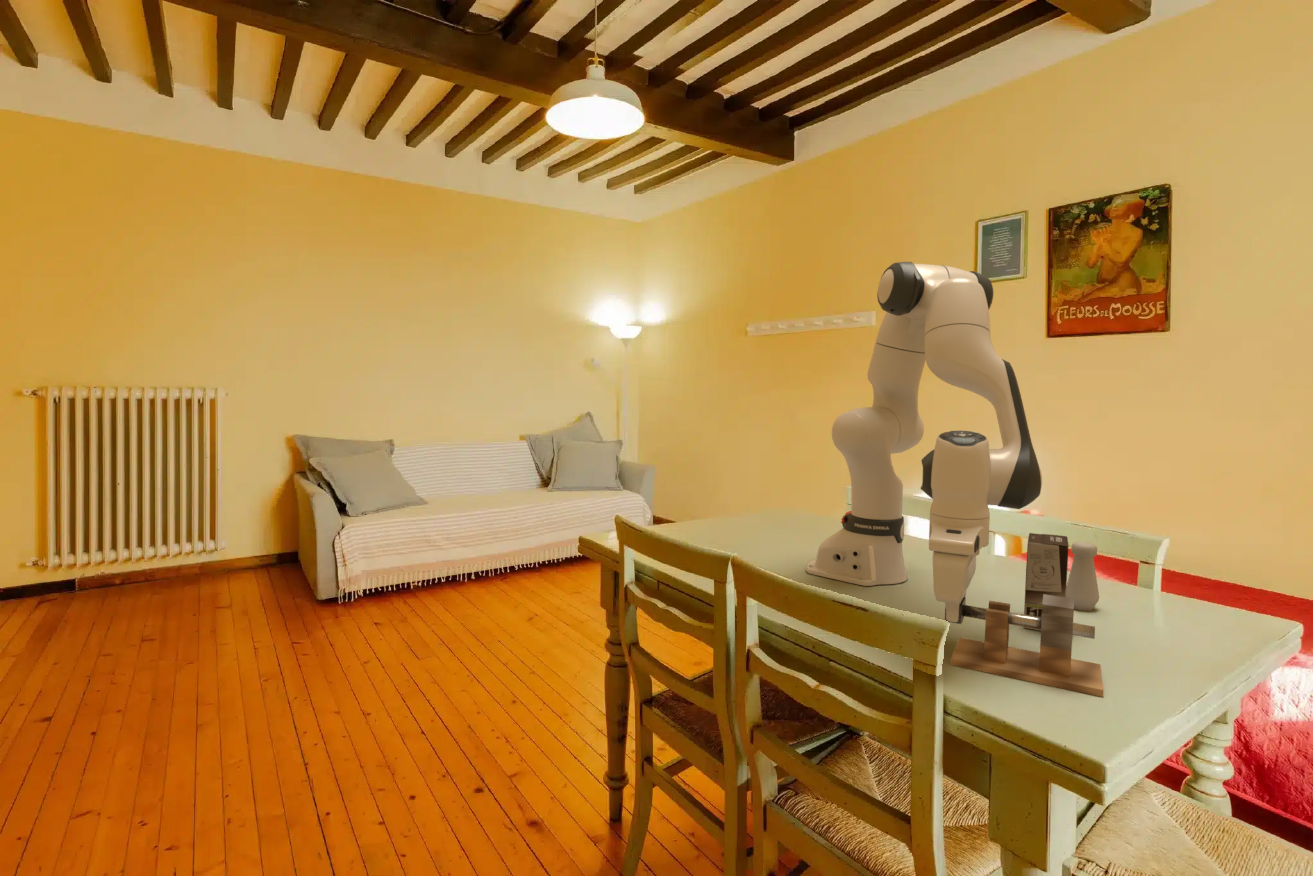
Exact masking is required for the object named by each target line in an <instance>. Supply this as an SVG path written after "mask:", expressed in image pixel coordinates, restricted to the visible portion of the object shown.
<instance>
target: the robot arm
mask: <svg viewBox="0 0 1313 876" xmlns="http://www.w3.org/2000/svg"><path fill="white" fill-rule="evenodd" d="M993 287H994V286H993V284H992V280H991V279H990V278H989V277H987V276H986V275H983V274H981V273H980V272H977V271H974V270H972V271H967V270H965V269H962V268H958V267H954V266H949V265H944V264H940V265H937V264H930V263H929V264H928V263H914V262H912V261H898V262H893V263H891V264H890V265H889V266H888V267H887V268H886V269H885V270H884V271H883V273H882V275H881V278H880V280H879V283H878V287H877V294H876V296H877V302H878V304H879V306H880V308H881V310H883V311H884V312H885V314H884V316H883V319H882V321H881V324H880V326H879V329H878V332H877V336H876V339H875V342H874V347H873V351H872V355H871V359H870V362H869V366H868V370H867V379H868V381H869V383H870V384H871V386H872V393H873V400H872V405H871V406H869V407H856V408H853V409H851V410H848V411H845V412H842V413H841V414H839V415H838V416H837V417H836V419H835V420H834V421H833V423H832V427H831V439H832V441H833V444H834V447H836V449H837V451H839V452H840V453H841V454H842V456H843V457H844V459H845V462H846V466H847V469H848V472H849V477H850V482H851V483H850V484H851V494H850V495H851V499H850V500H851V504H850V505H851V507H850V509H851V510H848V511H846V512H845V514H844V515H843V516H842V518H841V521H840V522H841V525H842V527H843V528H841V529H839V530H838V531H836V532H835V533H833V534H831V536H829V537H828V538H826V539H825V540H823V541H822V542H821V543H820V544H819V547H818V549H817V553H816V558H814V559H812V560H811V561H809V562H808V563H807V564H806V569H805V570H806V572H807V574H809V575H814V576H819V577H823V578H828V579H832V580H837V581H842V582H846V583H849V584H853V585H854V584H855V585H860V586H863V587H871V586H876V585H892V584H893V585H894V584H900V583H903V582H905V581H907V580H908V578H909V577H908V573H907V570H906V566H905V559H904V551H903V542H904V538H905V518H904V516H903V491H904V489H903V488H904V484H903V481H902V480H901V478H900V477H899V476H898V475H897V474H896V472H895V469H894V467H893V466H894V465H893V462H892V454H900V453H904V452H905V451H908V450H910V449H912V448H914V447H915V446H917V445H918V444H919V443H920V442H921V440H922V438H924V432H925V427H924V422H923V419H922V417H921V416H920V414H919V389H920V382H921V379H922V375H923V371H924V367H925V363H926V365H927V368H928V369H929V370H930V371H931V373H933V375H934V376H936V377H937V378H938V379H940V380H941V381H942V382H945V383H947V384H948V385H951V386H954V387H956V388H959V389H963V390H965V391H969V392H972V393H974V394H976V395H979V396H981V397H983V398H984V399H986V400H987V401H988V402H989V403H990V404H991V405H992V406H993V408H994V410H995V414H996V418H997V424H998V427H999V432H1000V433H999V434H1000V437H1001V441H1002V447H1001V448H990V444H989V440H988V437H986V436H985V435H983V434H981V433H980V432H974V431H969V430H950V431H946V432H945V431H944V432H942V433H940V434H939V435H938V436H937V437H936V440H935V446H934V448H933V449H932V450H931V451H929V452H928V453H927V454H926V455H925V456H924V457H922V459H921V464H922V475H921V477H922V480H921V486H920V490H921V491H923V492H924V494H926V495H927V496H928V497H929V498H930V499H932V502H931V505H930V509H929V524H928V525H929V528H928V530H929V531H928V532H929V533H928V534H929V535H928V550H929V551H932V578H933V580H932V581H933V592H934V597H935V599H936V601H938V602H941V603H944V605H945V606H944V607H946V619H947V620H948V621H951V622H958V620H959V612H960V609H959V604H960V603H961V601H962V599H963V597H966V594H967V590H968V588H969V586H970V584H971V581H972V579H973V577H974V575H975V572H976V567H977V566H976V565H977V556H979V555H980V550H981V549H982V548H985V547H987V546H989V544H990V543H989V542H990V541H989V540H990V521H991V513H990V509H989V506H997V507H999V508H1000V507H1001V508H1007V509H1014V510H1021V509H1022V508H1025V507H1026V506H1028V505H1031V503H1033V502H1034V501H1036V500H1037V498H1038V497H1040V495H1041V490H1042V486H1043V476H1042V470H1041V467H1040V465H1039V462H1038V461H1039V460H1038V458H1037V455H1036V452H1035V448H1034V446H1033V442H1032V438H1031V434H1030V430H1029V425H1028V420H1027V416H1026V412H1025V409H1024V403H1023V400H1022V399H1023V398H1022V394H1021V391H1020V388H1019V384H1018V383H1019V382H1018V380H1017V376H1016V373H1015V371H1014V368H1013V367H1012V365H1011V363H1010V362H1009V361H1007V360H1005V359H1003V358H1001V357H1000V355H999V354H998V353H997V352H996V350H995V348H994V345H993V343H992V337H991V321H990V311H989V310H990V308H991V306H992V303H993V300H994V288H993ZM951 622H950V623H951Z"/></svg>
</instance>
